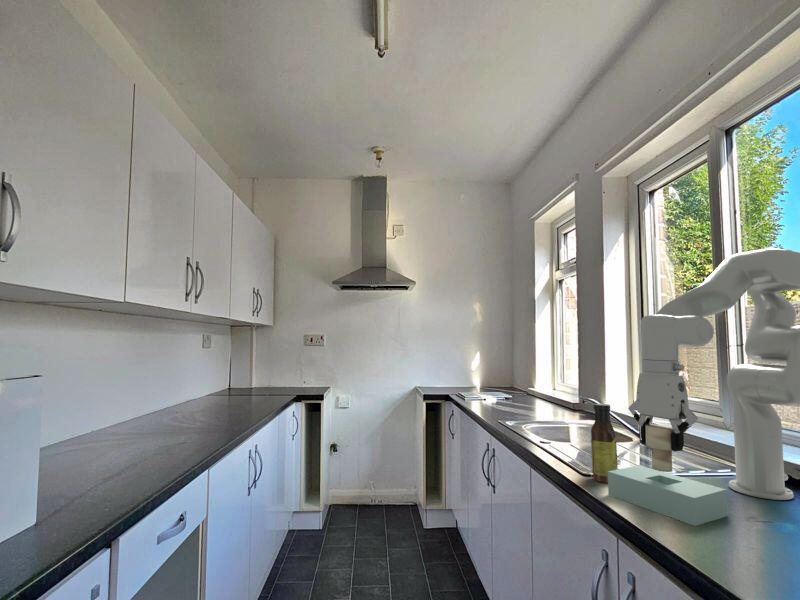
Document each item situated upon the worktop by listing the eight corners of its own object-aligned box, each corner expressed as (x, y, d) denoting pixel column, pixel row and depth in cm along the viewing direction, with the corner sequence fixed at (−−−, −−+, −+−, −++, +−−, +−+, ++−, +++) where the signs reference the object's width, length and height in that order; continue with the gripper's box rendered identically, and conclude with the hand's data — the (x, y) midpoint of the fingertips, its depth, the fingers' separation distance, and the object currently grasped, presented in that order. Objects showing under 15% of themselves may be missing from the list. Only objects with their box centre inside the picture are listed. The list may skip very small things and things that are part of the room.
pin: (657, 464, 107) (656, 423, 108) (684, 471, 102) (683, 428, 103) (640, 467, 104) (639, 425, 105) (667, 474, 99) (666, 430, 100)
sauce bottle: (622, 484, 117) (621, 406, 118) (599, 484, 116) (598, 406, 118) (609, 476, 123) (607, 402, 125) (587, 476, 123) (586, 402, 125)
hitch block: (640, 487, 114) (639, 465, 115) (727, 516, 97) (726, 489, 97) (608, 494, 109) (607, 471, 109) (695, 526, 91) (694, 497, 91)
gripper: (708, 370, 99) (711, 454, 98) (635, 365, 114) (637, 438, 113) (688, 371, 96) (691, 457, 94) (616, 365, 111) (617, 440, 109)
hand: (661, 446), depth 104 cm, fingers closed on pin, 6 cm apart
